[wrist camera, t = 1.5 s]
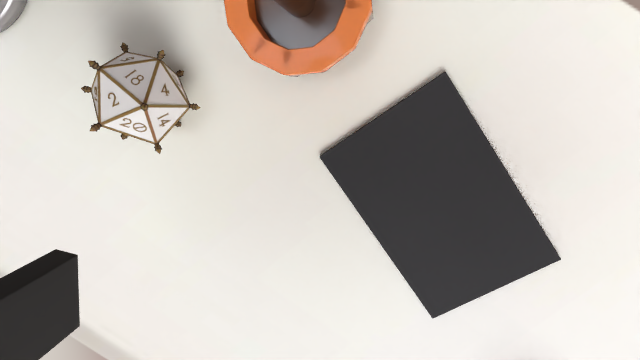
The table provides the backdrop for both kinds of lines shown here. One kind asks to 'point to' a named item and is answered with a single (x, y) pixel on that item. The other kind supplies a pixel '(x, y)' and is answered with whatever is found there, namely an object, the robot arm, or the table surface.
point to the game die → (138, 96)
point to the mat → (440, 199)
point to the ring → (300, 59)
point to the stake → (299, 20)
